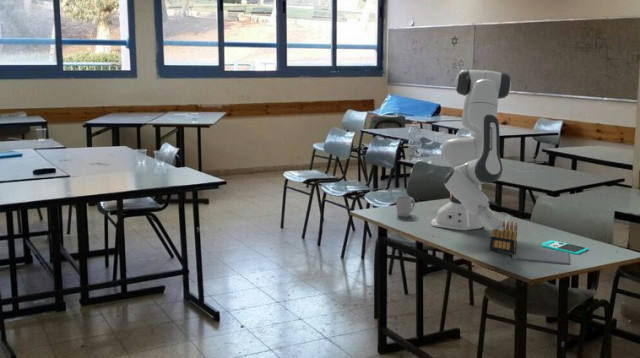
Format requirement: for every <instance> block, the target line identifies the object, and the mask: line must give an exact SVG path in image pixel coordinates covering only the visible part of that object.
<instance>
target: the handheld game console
mask: <svg viewBox="0 0 640 358" xmlns="http://www.w3.org/2000/svg"><path fill="white" fill-rule="evenodd" d="M541 247H542V248H546V249H550V250H553V251H559V252H568V254H572V255H576V256H578V255H581V254H583V253H585V252H587V251H586V250H588V251H589V250H590V249H589V247H585V246H579V245H576V244H571V243H567V242H561V241H557V240H552V239H550V240H548V241H545V242H542V244H541Z"/></svg>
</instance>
